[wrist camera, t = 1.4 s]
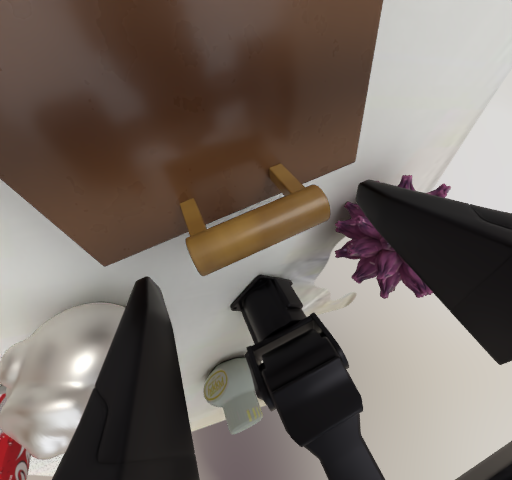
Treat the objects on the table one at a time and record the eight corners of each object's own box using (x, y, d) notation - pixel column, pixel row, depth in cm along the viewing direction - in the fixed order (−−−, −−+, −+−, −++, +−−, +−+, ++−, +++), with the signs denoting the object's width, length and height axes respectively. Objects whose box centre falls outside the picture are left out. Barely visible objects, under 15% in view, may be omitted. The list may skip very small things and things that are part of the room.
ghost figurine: (70, 262, 17) (47, 420, 11) (166, 299, 24) (185, 407, 18) (-15, 329, 18) (-82, 510, 12) (101, 345, 25) (98, 464, 19)
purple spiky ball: (368, 134, 22) (426, 186, 28) (293, 232, 27) (356, 259, 33) (494, 182, 13) (541, 244, 19) (349, 316, 18) (422, 333, 24)
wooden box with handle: (347, 156, 14) (410, 200, 11) (104, 257, 12) (102, 343, 9) (402, -223, 6) (685, -429, 3) (-307, -110, 4) (-1475, -392, 1)
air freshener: (228, 351, 41) (250, 417, 34) (260, 348, 47) (284, 405, 40) (194, 382, 45) (208, 447, 38) (227, 376, 50) (244, 432, 44)
